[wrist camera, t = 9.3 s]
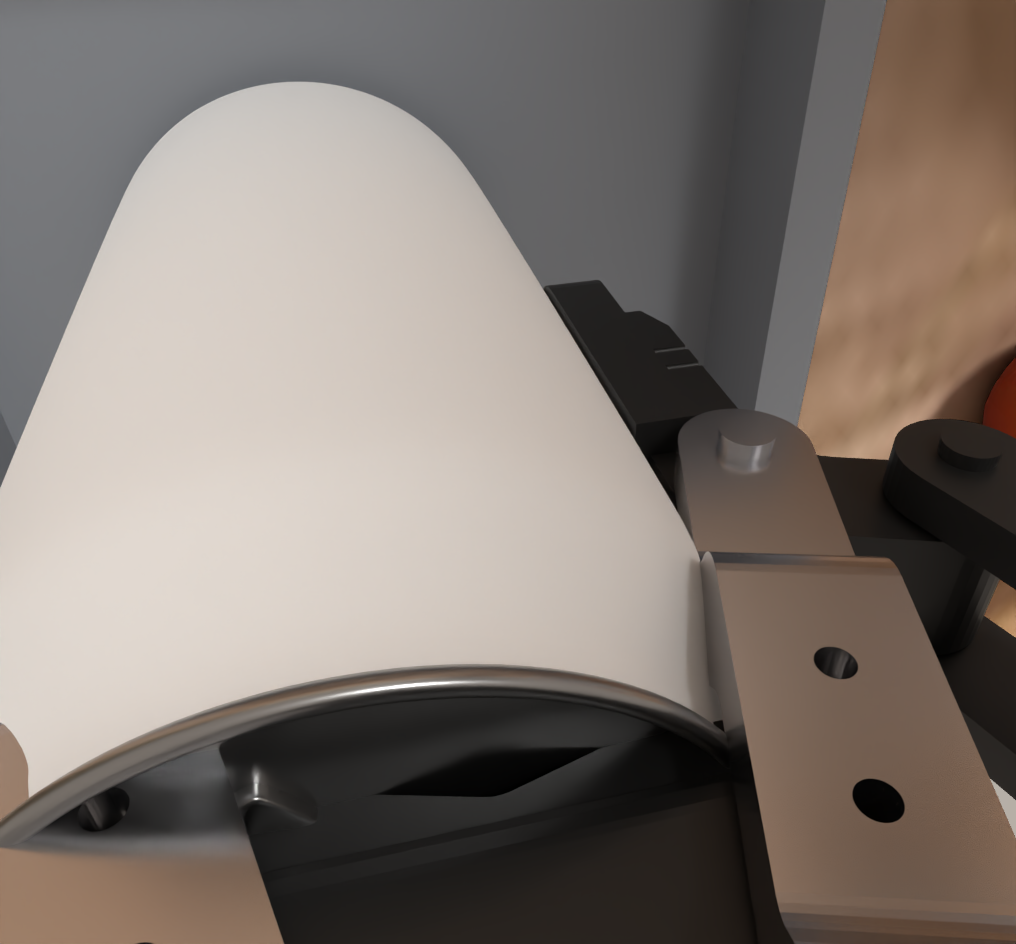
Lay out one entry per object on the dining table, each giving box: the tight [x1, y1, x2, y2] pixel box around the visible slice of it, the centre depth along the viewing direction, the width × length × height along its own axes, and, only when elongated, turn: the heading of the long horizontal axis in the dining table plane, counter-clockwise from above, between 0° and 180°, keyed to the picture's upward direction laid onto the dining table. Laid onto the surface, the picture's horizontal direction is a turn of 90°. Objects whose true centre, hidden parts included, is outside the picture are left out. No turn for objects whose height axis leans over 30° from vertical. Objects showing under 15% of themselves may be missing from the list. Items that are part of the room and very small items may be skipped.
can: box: [0, 82, 730, 847], centre depth 11 cm, size 6×6×12 cm
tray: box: [0, 0, 887, 487], centre depth 15 cm, size 16×16×3 cm
